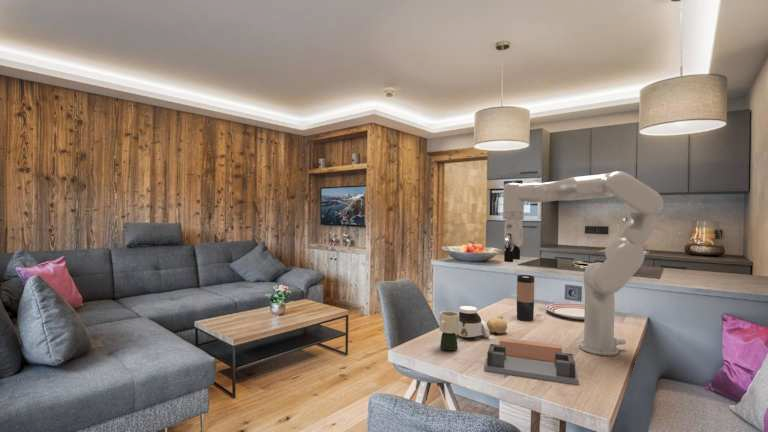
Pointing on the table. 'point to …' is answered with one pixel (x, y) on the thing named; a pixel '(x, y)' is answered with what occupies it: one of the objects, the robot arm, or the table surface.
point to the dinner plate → (568, 310)
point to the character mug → (449, 329)
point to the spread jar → (471, 324)
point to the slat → (530, 349)
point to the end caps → (562, 360)
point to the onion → (497, 325)
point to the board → (531, 370)
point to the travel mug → (525, 297)
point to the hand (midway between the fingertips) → (512, 260)
